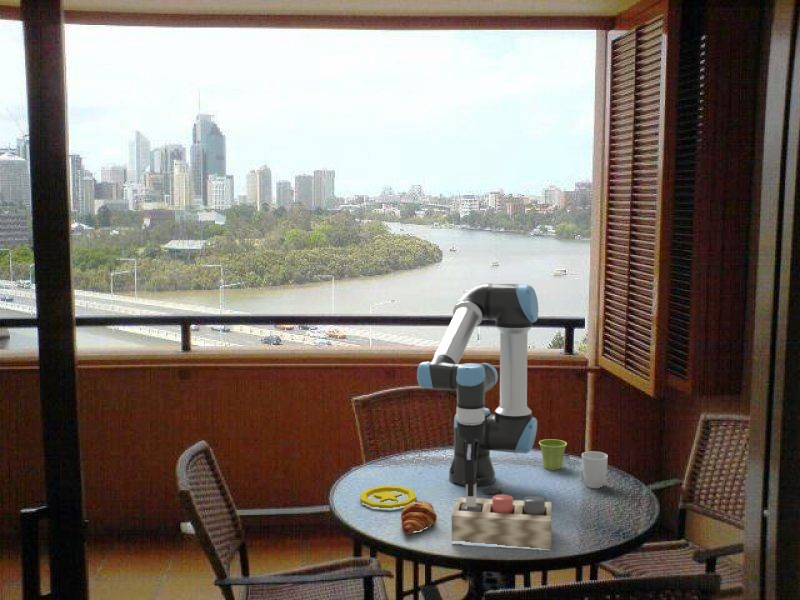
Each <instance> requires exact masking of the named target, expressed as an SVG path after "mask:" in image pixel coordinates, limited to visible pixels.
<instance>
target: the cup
mask: <svg viewBox="0 0 800 600" xmlns="http://www.w3.org/2000/svg"><path fill="white" fill-rule="evenodd" d="M608 457H609V456H608V454H607V453H605V452H602V451H585V452H582V453H581V466H582V468H581V469H582V474H583V479H584V482H585V485H586V487H587V488H589V489H600V487H601V488H602V487H603V485H604V482H605V480H606V475H607V470H608Z"/></svg>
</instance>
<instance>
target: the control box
mask: <svg viewBox="0 0 800 600" xmlns="http://www.w3.org/2000/svg"><path fill="white" fill-rule="evenodd" d="M455 501H456V502H455V504H454V507H453V510H452V513H451V542H452V541H465V542H471V543H485V544H497V545H505V546H517V547H530V548H541V549H549V550H551V551H552V503H553V502H551V501H545V516H542V515H525V514H524V500H520V499H519V500H517V499H516V500H514V499H513V514H507V513H492V498H479V497H476V504H478V505H480V506H481V512H473V511H461V506H462V505H464V504H466V497H461V496H460V497H459V496H458V497H457V499H456V500H455Z"/></svg>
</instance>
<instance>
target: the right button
mask: <svg viewBox="0 0 800 600" xmlns="http://www.w3.org/2000/svg"><path fill="white" fill-rule="evenodd" d="M523 501H524V514H525V515H542V516H545V502H546V499H545V498H543V497H541V496H536V495H533V496H532V495H531V496H526V497H524V499H523Z"/></svg>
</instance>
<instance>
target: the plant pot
mask: <svg viewBox="0 0 800 600" xmlns="http://www.w3.org/2000/svg"><path fill="white" fill-rule="evenodd" d="M538 444H539V446H540V449H541V456H542V465H543V468H544V469H547V470H550V471H551V470H553V471H557V470H560V469H562V468H563V461H564V455H565V450H566V448H567V445H568V443H567V442H566V441H564V440H561V439H551V438H548V439H542V440H539V442H538Z"/></svg>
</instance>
